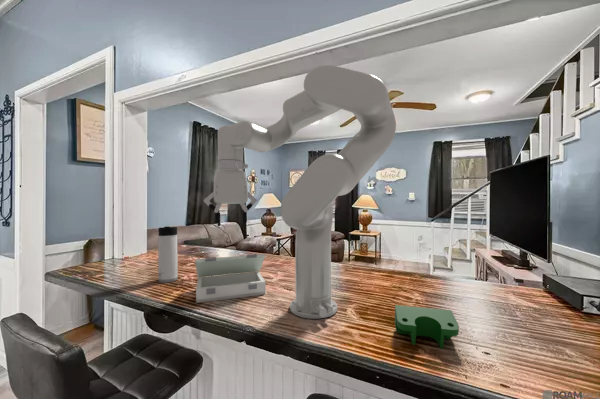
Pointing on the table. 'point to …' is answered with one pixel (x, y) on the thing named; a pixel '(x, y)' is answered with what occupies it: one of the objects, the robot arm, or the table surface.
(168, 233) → the travel mug
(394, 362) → the table surface
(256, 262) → the cover
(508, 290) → the table surface
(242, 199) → the robot arm
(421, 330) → the clamp
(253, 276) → the white latched case
